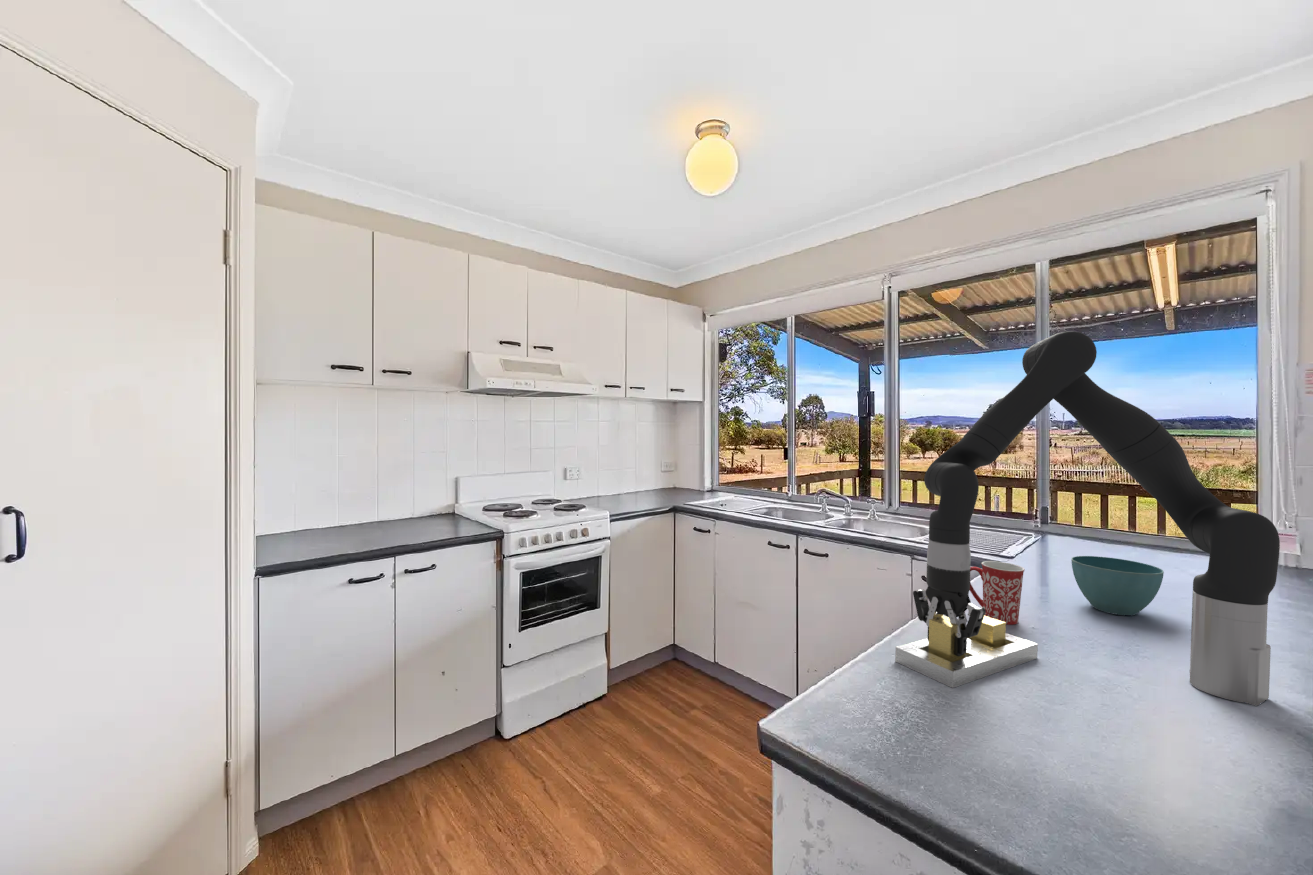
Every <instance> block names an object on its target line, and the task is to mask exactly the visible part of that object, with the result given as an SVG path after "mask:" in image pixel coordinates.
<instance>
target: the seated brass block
mask: <svg viewBox="0 0 1313 875" xmlns="http://www.w3.org/2000/svg"><path fill="white" fill-rule="evenodd" d="M1006 629H1007V627H1006V622H1003V621H1000V620H997V619H994V618H990V617H987V616H984V618H983V621H982V624H981V627H980V630H979V633H978V635H976V636H973V637H971V640H973V641H976V642H979V643H981V644H984V645H987V646H990V647H992V648H995V649H996V648H999V647H1002V646H1005V633H1007V632H1006V631H1007V630H1006Z"/></svg>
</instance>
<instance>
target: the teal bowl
mask: <svg viewBox="0 0 1313 875" xmlns="http://www.w3.org/2000/svg"><path fill="white" fill-rule="evenodd" d="M1071 569H1072V573H1073V577H1074V580H1075V581H1076V584H1077V586H1078V588H1079V591H1080V592H1081V593H1082V595H1083V596H1084V597H1085V599H1086V600H1087V601H1088V602H1089V604H1090V605H1091V606H1092V607H1093V608H1094V609H1096V610H1098V611H1101V612H1104V613H1107V612H1108V614H1111V613H1112V615H1117V614H1118V615H1117V616H1125V615H1131V616H1134V615H1138V614H1139V613H1140V612H1142V611H1143V610H1144V609H1145V608H1147V607H1148V606H1149V605H1150V604H1151V603H1152V601H1153V600H1154V599H1155V598H1156V596H1157V594H1158V592H1159V590H1160V589H1161V585H1162V583H1163V579H1164V574H1165V572H1164V571H1165V570H1163V569H1162V568H1160V567H1157V566H1154V565H1151V564H1147V563H1144V562H1139V561H1134V560H1129V559H1122V558H1115V557H1108V556H1095V555H1079V556H1078V555H1077V556H1072V557H1071Z"/></svg>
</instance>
